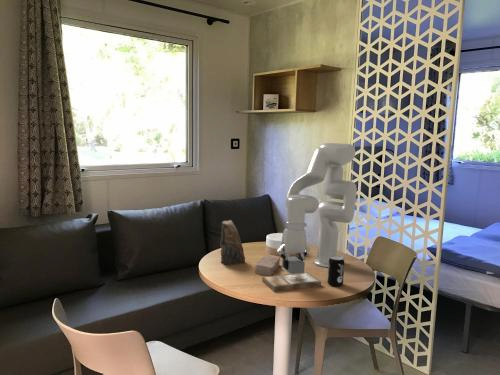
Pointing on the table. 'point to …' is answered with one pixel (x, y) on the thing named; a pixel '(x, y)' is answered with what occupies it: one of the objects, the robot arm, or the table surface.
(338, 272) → the beverage can
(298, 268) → the block
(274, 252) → the bowl
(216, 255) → the table surface
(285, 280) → the board
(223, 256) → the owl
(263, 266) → the brick
